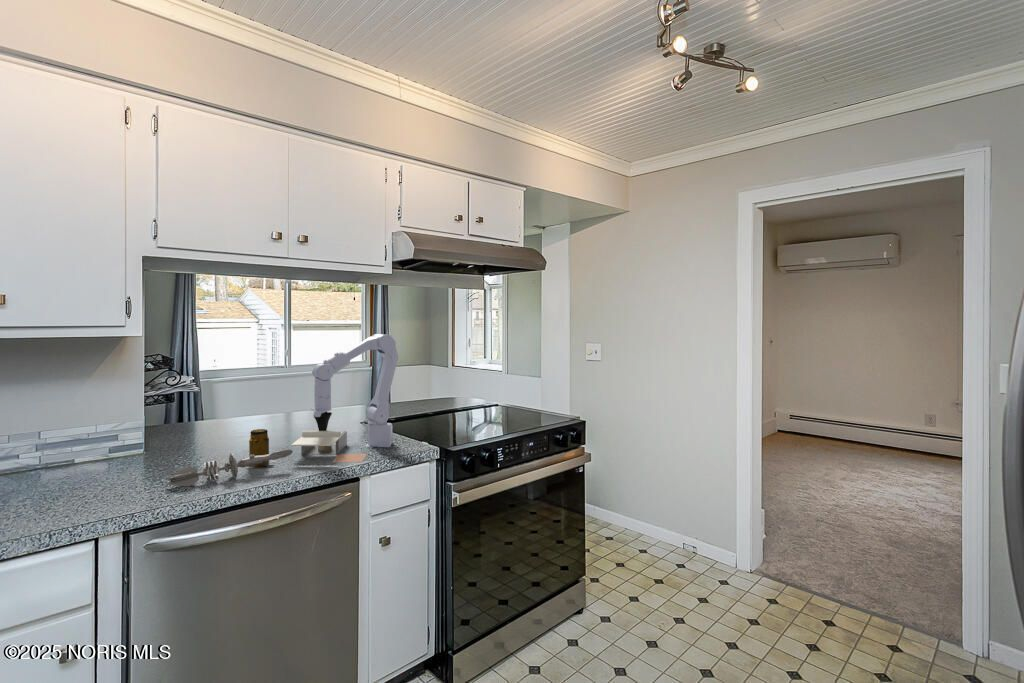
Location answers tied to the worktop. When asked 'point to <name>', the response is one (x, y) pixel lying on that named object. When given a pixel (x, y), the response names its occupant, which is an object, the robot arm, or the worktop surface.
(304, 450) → the case
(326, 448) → the block
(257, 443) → the condiment
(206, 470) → the spaceship
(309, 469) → the worktop surface
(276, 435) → the worktop surface
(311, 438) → the cover
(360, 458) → the tile
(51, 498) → the worktop surface
